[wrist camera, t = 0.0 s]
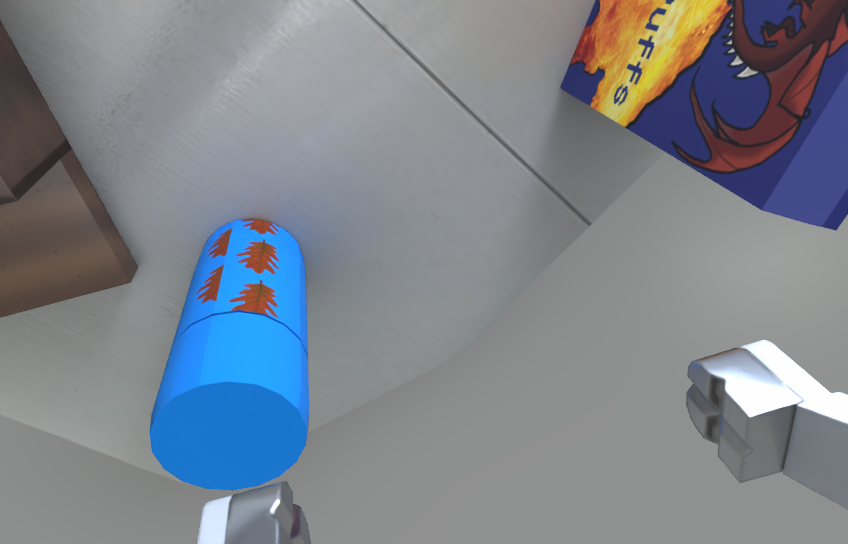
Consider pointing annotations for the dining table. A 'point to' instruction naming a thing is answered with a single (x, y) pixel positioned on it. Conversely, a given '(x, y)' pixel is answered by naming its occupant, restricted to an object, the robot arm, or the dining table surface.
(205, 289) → the thermos
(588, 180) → the dining table surface
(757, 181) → the cereal box
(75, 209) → the step shelf
